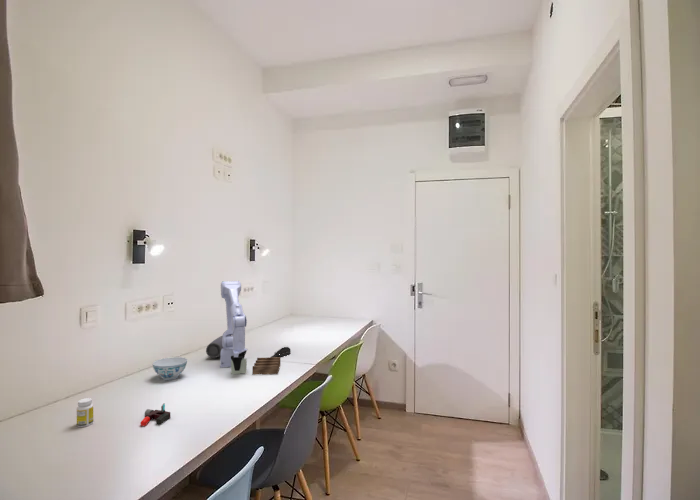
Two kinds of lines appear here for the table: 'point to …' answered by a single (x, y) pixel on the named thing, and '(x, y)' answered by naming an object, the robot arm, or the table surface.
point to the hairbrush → (282, 352)
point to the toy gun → (156, 416)
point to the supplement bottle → (84, 412)
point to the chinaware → (169, 367)
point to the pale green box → (242, 368)
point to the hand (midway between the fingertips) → (238, 368)
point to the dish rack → (266, 365)
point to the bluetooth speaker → (215, 348)
